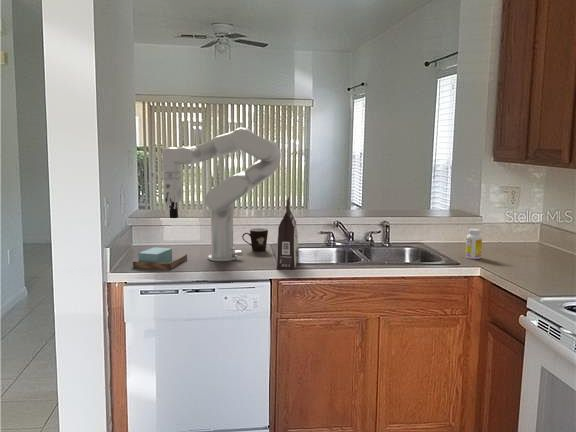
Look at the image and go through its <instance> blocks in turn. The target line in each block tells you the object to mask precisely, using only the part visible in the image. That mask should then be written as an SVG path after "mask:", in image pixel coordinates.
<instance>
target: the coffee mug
mask: <svg viewBox="0 0 576 432" xmlns="http://www.w3.org/2000/svg"><path fill="white" fill-rule="evenodd" d="M268 234H269V229H267V228H264V227H262V228H261V227H260V228H259V227H258V228H257V227H256V228H251V229H249V232H244V233H243V234H242V236H241V238H242V240H243V241H244V242H245V243H246V244H248V245H250V246H251V250H252V252H254V253H255V252H256V253H264V252H266V250H267V243H268ZM245 235H248V236H249V237H250V242H248V241H247V240H245V238H244V236H245Z"/></svg>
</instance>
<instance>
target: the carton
mask: <svg viewBox="0 0 576 432" xmlns="http://www.w3.org/2000/svg"><path fill="white" fill-rule="evenodd" d="M138 259H139V261H141V262H160V263H169V262H171V261H173V248H170V247H169V248H168V247H151V248H148V249H145V250H142V251H141V252H138Z"/></svg>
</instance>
